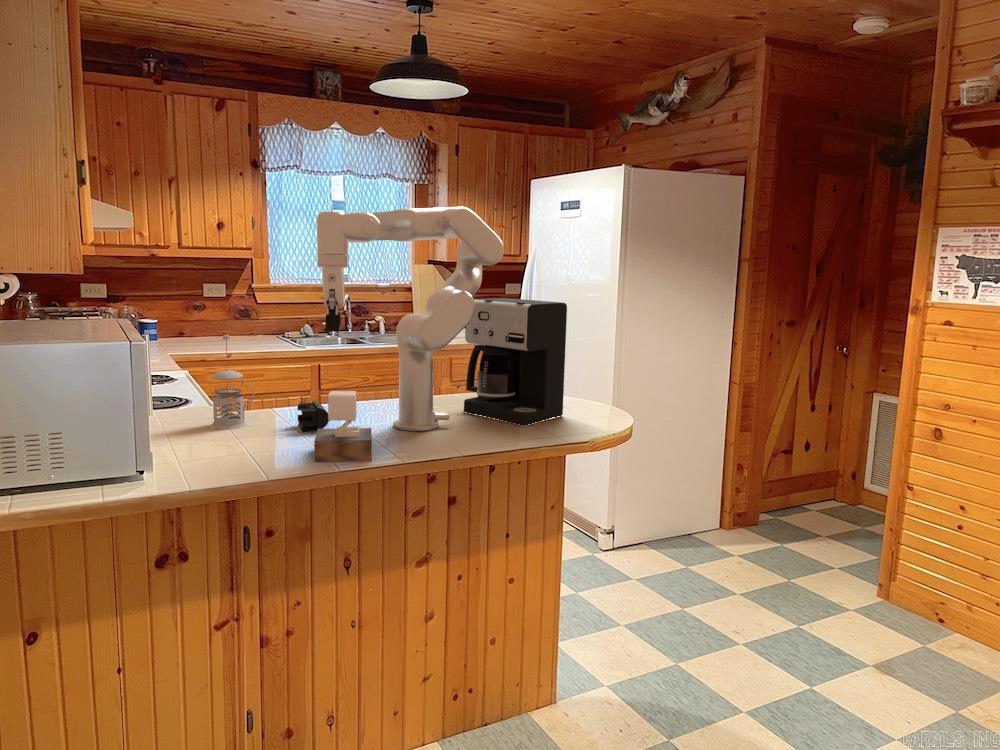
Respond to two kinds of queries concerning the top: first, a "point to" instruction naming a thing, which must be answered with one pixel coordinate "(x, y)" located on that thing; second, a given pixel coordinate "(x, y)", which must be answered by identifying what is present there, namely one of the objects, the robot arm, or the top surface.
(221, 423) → the french press
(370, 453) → the walnut stand
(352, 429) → the security camera
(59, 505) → the top surface
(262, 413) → the top surface
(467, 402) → the coffee maker
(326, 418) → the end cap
